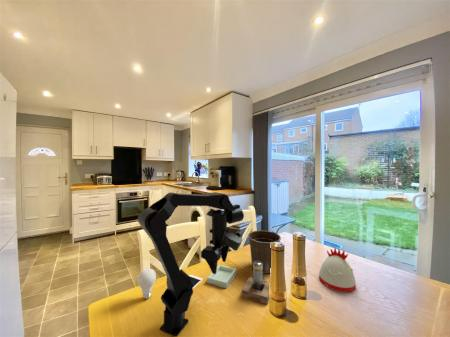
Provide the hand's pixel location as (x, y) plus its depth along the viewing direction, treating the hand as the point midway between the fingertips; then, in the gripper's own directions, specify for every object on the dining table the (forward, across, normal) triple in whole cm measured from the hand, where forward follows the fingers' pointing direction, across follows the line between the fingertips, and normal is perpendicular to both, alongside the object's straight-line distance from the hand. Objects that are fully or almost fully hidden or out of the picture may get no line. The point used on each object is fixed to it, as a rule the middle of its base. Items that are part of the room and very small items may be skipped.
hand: (219, 267), depth 73 cm
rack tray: (+13, +14, +5) cm, 19 cm away
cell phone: (+13, +2, +17) cm, 22 cm away
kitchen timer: (+14, +31, -43) cm, 55 cm away
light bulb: (+13, -9, +26) cm, 31 cm away
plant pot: (+14, +30, -11) cm, 35 cm away
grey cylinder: (+13, +10, -12) cm, 21 cm away
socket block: (+13, +10, -12) cm, 21 cm away
